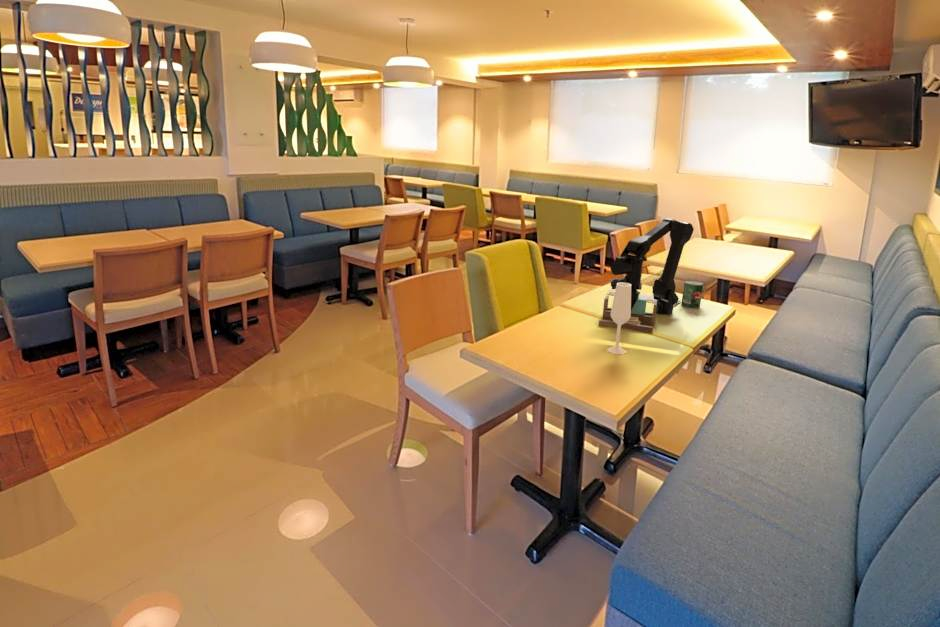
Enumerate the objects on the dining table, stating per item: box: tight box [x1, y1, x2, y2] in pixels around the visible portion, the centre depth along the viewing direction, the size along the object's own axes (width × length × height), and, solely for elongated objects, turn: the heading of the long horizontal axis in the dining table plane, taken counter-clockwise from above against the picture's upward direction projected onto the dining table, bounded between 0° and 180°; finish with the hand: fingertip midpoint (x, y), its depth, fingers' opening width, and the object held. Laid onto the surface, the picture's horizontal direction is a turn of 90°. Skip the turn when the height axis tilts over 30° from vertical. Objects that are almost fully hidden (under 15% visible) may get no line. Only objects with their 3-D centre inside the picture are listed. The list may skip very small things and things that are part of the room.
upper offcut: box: [626, 317, 639, 325], centre depth 210 cm, size 5×8×1 cm, turn 76°
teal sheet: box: [631, 298, 648, 315], centre depth 217 cm, size 2×12×9 cm, turn 68°
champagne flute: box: [607, 282, 631, 355], centre depth 184 cm, size 7×7×24 cm
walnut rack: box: [598, 295, 657, 334], centre depth 213 cm, size 18×20×9 cm
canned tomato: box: [680, 280, 704, 310], centre depth 240 cm, size 8×8×11 cm
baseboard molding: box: [606, 288, 682, 308], centre depth 252 cm, size 31×3×12 cm
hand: (629, 310), depth 217 cm, fingers closed on teal sheet, 2 cm apart
